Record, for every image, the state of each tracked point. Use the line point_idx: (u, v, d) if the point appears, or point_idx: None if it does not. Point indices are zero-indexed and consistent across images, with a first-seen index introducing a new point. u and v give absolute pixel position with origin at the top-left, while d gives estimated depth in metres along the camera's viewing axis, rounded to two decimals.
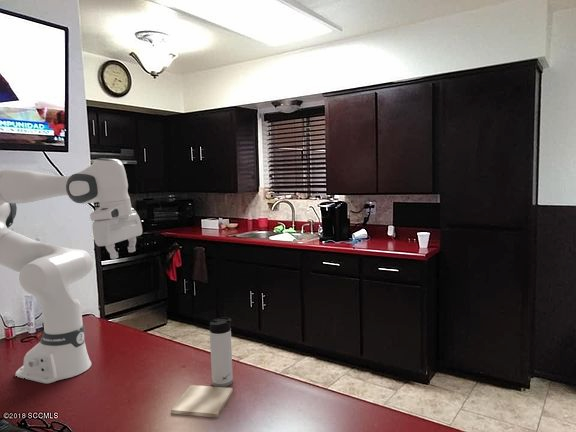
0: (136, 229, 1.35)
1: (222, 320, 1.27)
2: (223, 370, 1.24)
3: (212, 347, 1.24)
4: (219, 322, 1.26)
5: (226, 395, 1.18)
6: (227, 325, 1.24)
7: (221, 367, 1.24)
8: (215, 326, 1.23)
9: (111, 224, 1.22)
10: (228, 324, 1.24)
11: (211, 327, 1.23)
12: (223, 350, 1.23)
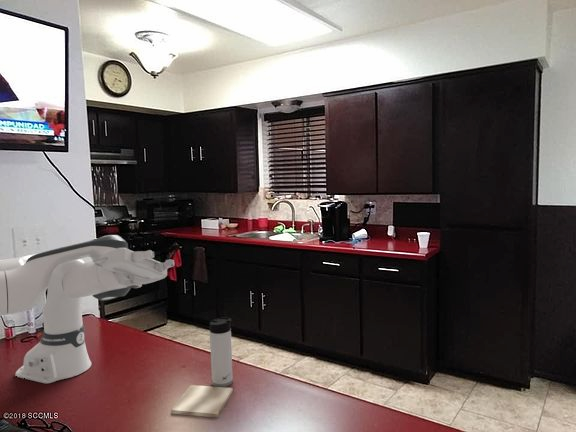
0: (125, 265, 1.04)
1: (222, 320, 1.27)
2: (223, 370, 1.24)
3: (212, 347, 1.24)
4: (219, 322, 1.26)
5: (226, 395, 1.18)
6: (227, 325, 1.24)
7: (221, 367, 1.24)
8: (215, 326, 1.23)
9: (143, 279, 1.16)
10: (228, 324, 1.24)
11: (211, 327, 1.23)
12: (223, 350, 1.23)
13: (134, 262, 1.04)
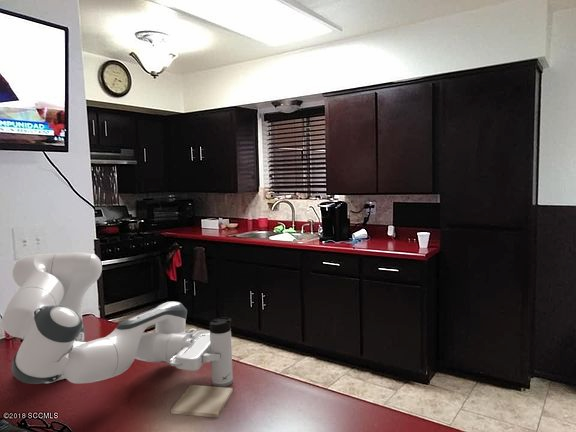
0: None
1: (222, 320, 1.27)
2: (223, 370, 1.24)
3: (212, 347, 1.24)
4: (219, 322, 1.26)
5: (226, 395, 1.18)
6: (227, 325, 1.24)
7: (221, 367, 1.24)
8: (215, 326, 1.23)
9: None
10: (228, 324, 1.24)
11: (211, 327, 1.23)
12: (223, 350, 1.23)
13: (203, 362, 1.22)
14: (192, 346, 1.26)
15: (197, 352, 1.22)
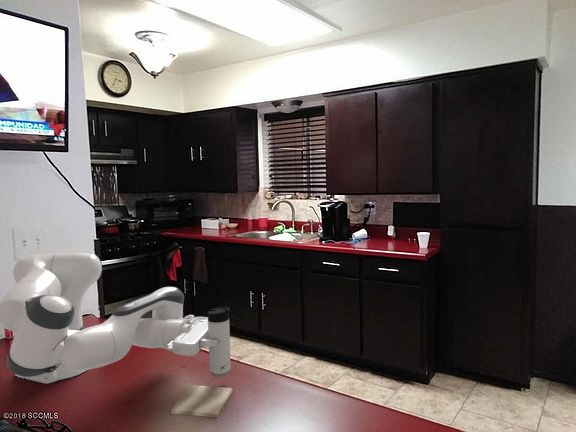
0: None
1: (220, 309, 1.26)
2: (221, 360, 1.23)
3: (210, 336, 1.23)
4: (217, 311, 1.24)
5: (226, 395, 1.18)
6: (225, 314, 1.23)
7: (219, 357, 1.23)
8: (213, 315, 1.21)
9: None
10: (226, 313, 1.23)
11: (209, 316, 1.22)
12: (221, 339, 1.22)
13: (200, 348, 1.21)
14: (190, 332, 1.25)
15: (195, 337, 1.20)
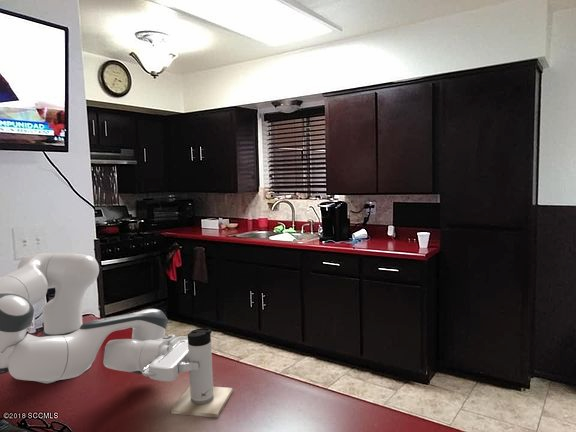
0: None
1: (202, 331, 1.16)
2: (201, 386, 1.13)
3: (190, 360, 1.13)
4: (198, 333, 1.15)
5: (226, 395, 1.18)
6: (206, 337, 1.13)
7: (200, 383, 1.13)
8: (193, 338, 1.12)
9: None
10: (207, 336, 1.14)
11: (189, 339, 1.13)
12: (201, 364, 1.13)
13: (179, 372, 1.11)
14: (169, 354, 1.16)
15: (173, 361, 1.11)
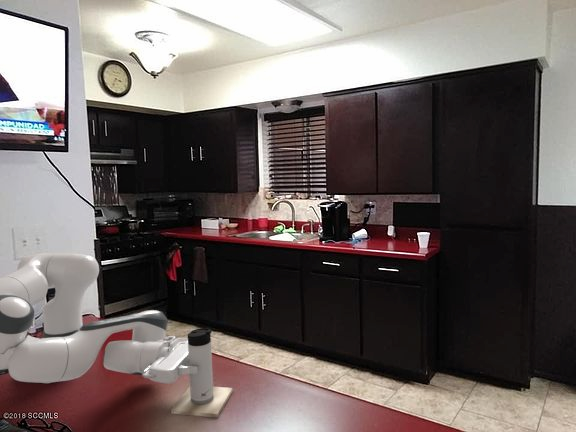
0: None
1: (202, 331, 1.16)
2: (201, 386, 1.13)
3: (190, 360, 1.13)
4: (198, 333, 1.15)
5: (226, 395, 1.18)
6: (206, 337, 1.13)
7: (200, 383, 1.13)
8: (193, 338, 1.12)
9: None
10: (207, 336, 1.14)
11: (189, 339, 1.13)
12: (201, 364, 1.13)
13: (179, 374, 1.11)
14: (169, 356, 1.16)
15: (173, 363, 1.11)
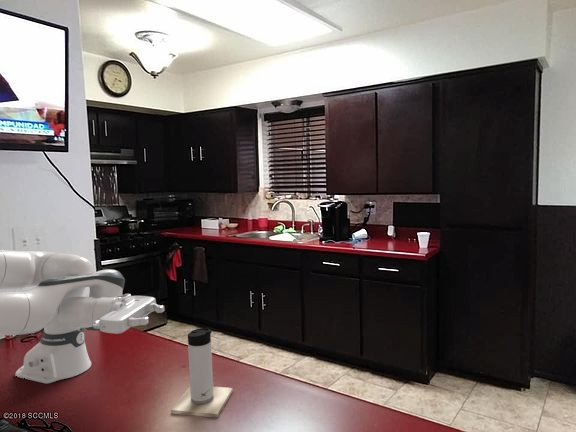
0: None
1: (202, 331, 1.16)
2: (201, 386, 1.13)
3: (190, 360, 1.13)
4: (198, 333, 1.15)
5: (226, 395, 1.18)
6: (206, 337, 1.13)
7: (200, 383, 1.13)
8: (193, 338, 1.12)
9: None
10: (207, 336, 1.14)
11: (189, 339, 1.13)
12: (201, 364, 1.13)
13: None
14: (121, 310, 1.19)
15: (124, 315, 1.14)
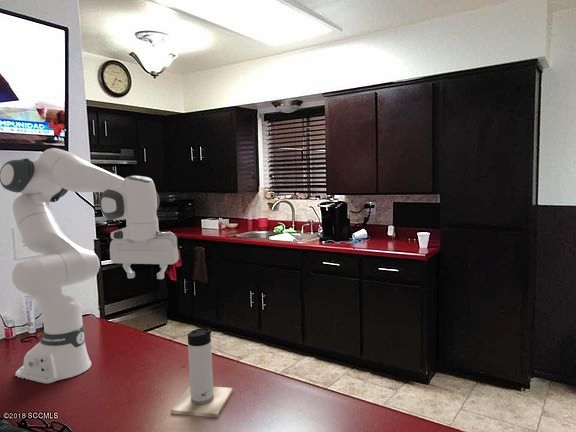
0: (161, 256, 1.20)
1: (202, 331, 1.16)
2: (201, 386, 1.13)
3: (190, 360, 1.13)
4: (198, 333, 1.15)
5: (226, 395, 1.18)
6: (206, 337, 1.13)
7: (200, 383, 1.13)
8: (193, 338, 1.12)
9: (120, 244, 1.22)
10: (207, 336, 1.14)
11: (189, 339, 1.13)
12: (201, 364, 1.13)
13: (160, 264, 1.21)
14: None
15: None
